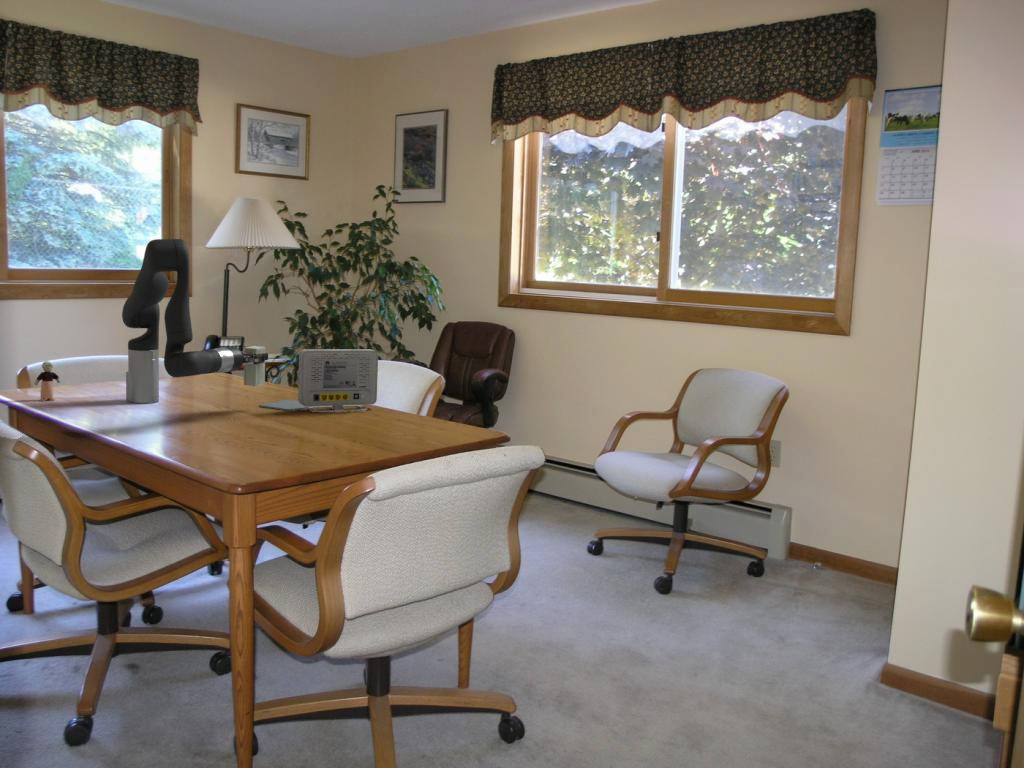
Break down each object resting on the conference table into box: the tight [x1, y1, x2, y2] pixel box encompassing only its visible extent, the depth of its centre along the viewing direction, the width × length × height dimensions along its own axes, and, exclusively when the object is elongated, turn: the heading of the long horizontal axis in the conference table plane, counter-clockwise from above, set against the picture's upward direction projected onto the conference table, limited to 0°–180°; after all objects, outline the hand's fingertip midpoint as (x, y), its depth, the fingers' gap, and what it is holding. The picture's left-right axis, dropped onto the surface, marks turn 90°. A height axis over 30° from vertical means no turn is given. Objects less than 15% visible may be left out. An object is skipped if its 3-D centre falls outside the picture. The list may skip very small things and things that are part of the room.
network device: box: [297, 348, 379, 413], centre depth 291 cm, size 26×9×20 cm, turn 117°
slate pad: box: [258, 399, 314, 413], centre depth 293 cm, size 14×14×1 cm
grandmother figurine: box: [34, 360, 61, 402], centre depth 281 cm, size 8×4×13 cm, turn 150°
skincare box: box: [243, 345, 266, 387], centre depth 281 cm, size 6×4×12 cm
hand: (260, 355), depth 283 cm, fingers open, 5 cm apart
